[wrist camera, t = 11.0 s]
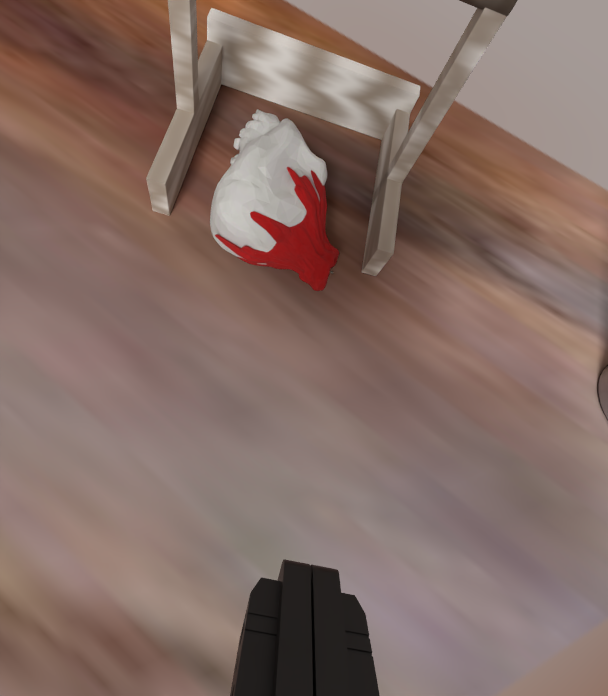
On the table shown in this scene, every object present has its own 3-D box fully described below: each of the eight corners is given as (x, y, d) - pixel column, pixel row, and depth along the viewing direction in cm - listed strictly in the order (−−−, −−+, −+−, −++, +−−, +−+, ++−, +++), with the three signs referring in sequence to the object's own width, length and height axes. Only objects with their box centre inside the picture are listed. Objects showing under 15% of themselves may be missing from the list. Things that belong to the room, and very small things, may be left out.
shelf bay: (394, 134, 46) (531, -126, 26) (375, 276, 38) (544, 60, 19) (211, 70, 42) (212, -278, 23) (152, 210, 35) (84, -125, 16)
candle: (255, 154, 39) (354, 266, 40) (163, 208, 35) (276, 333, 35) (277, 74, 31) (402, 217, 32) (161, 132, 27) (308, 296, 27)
